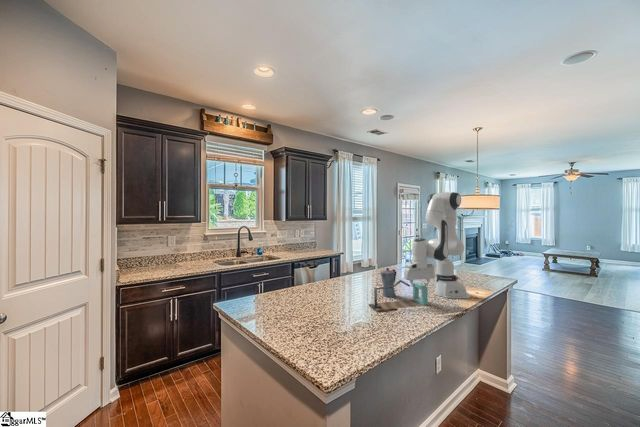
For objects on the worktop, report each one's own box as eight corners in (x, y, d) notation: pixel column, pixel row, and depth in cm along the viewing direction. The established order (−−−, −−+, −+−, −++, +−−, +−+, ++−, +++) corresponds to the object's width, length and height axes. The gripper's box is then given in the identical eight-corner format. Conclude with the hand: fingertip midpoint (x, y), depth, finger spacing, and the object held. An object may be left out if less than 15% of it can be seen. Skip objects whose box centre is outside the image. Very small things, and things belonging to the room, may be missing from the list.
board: (419, 300, 182) (419, 299, 182) (431, 306, 171) (431, 304, 171) (368, 305, 174) (368, 303, 174) (377, 312, 162) (377, 310, 162)
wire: (407, 302, 176) (407, 278, 176) (412, 304, 172) (412, 280, 172) (370, 305, 170) (369, 281, 170) (373, 308, 165) (373, 283, 165)
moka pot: (376, 297, 190) (376, 268, 190) (389, 293, 201) (389, 265, 201) (388, 300, 183) (388, 270, 183) (401, 295, 194) (401, 267, 194)
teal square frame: (417, 299, 181) (417, 282, 181) (427, 304, 171) (427, 287, 171) (413, 300, 181) (413, 283, 181) (423, 305, 170) (423, 287, 170)
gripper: (430, 262, 181) (430, 284, 181) (402, 264, 176) (402, 286, 176) (437, 264, 175) (437, 286, 175) (408, 265, 170) (408, 288, 170)
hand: (419, 286), depth 176 cm, fingers open, 8 cm apart
